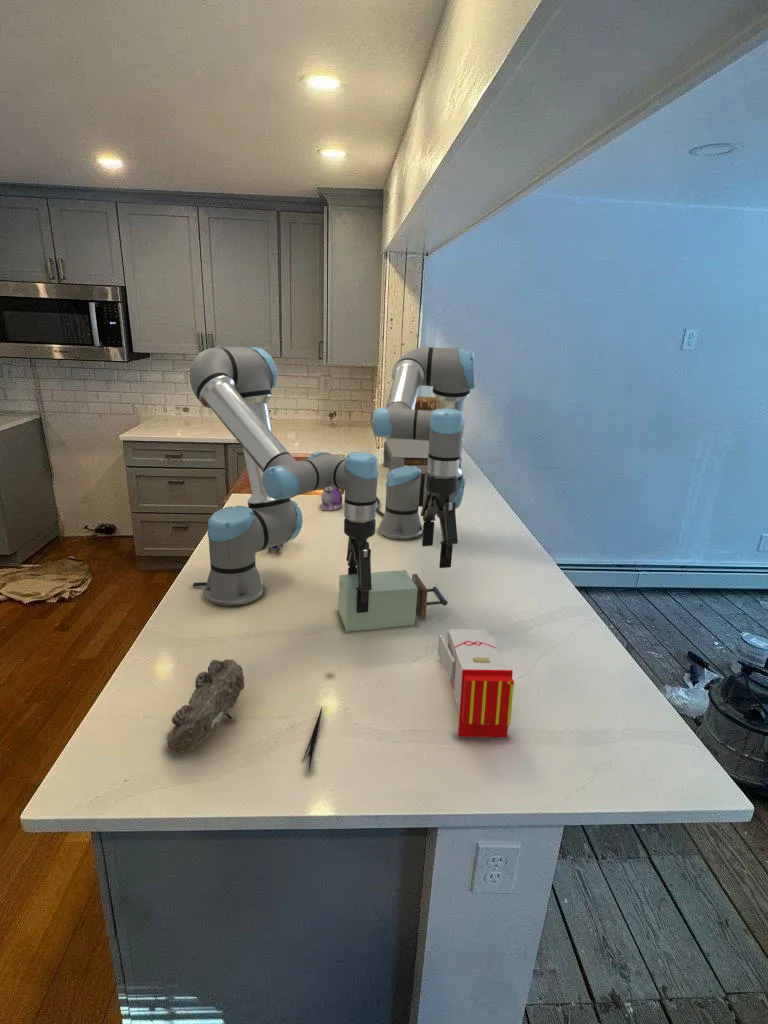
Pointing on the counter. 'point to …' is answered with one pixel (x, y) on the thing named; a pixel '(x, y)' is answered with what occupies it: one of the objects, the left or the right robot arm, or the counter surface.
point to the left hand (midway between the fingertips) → (357, 600)
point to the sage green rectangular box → (379, 601)
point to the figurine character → (276, 547)
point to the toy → (478, 682)
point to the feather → (313, 740)
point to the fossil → (206, 705)
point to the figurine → (331, 498)
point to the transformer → (411, 443)
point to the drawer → (422, 597)
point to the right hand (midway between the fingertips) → (435, 556)
